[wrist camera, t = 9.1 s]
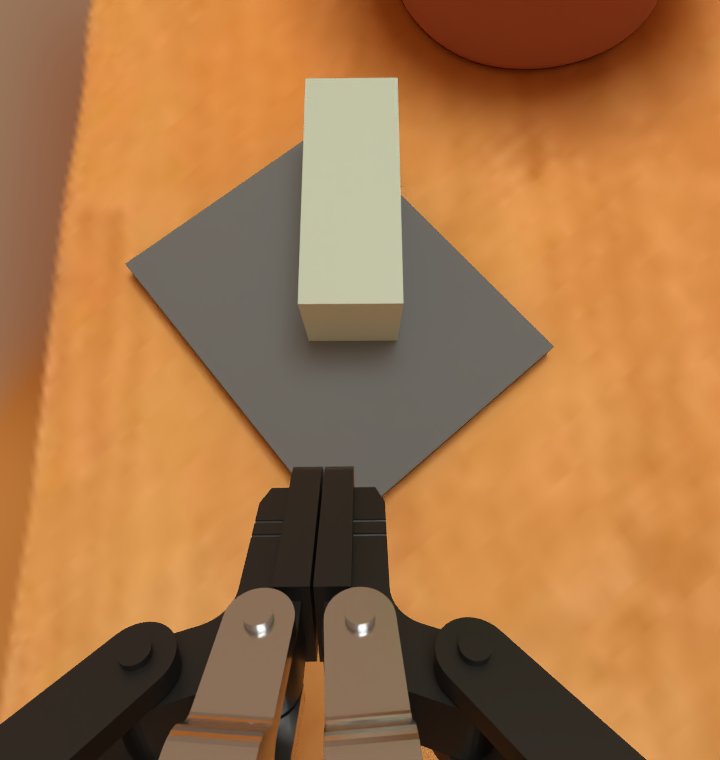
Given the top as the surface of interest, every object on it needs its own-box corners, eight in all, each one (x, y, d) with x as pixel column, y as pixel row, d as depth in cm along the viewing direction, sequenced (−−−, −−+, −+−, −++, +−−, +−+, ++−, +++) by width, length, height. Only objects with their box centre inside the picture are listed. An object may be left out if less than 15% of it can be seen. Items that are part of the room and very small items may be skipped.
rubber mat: (547, 353, 27) (553, 346, 26) (340, 532, 25) (339, 532, 24) (329, 135, 31) (328, 123, 30) (133, 272, 29) (125, 263, 28)
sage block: (403, 303, 22) (397, 77, 25) (297, 304, 22) (305, 78, 26) (397, 340, 26) (393, 143, 30) (308, 341, 26) (314, 144, 30)
